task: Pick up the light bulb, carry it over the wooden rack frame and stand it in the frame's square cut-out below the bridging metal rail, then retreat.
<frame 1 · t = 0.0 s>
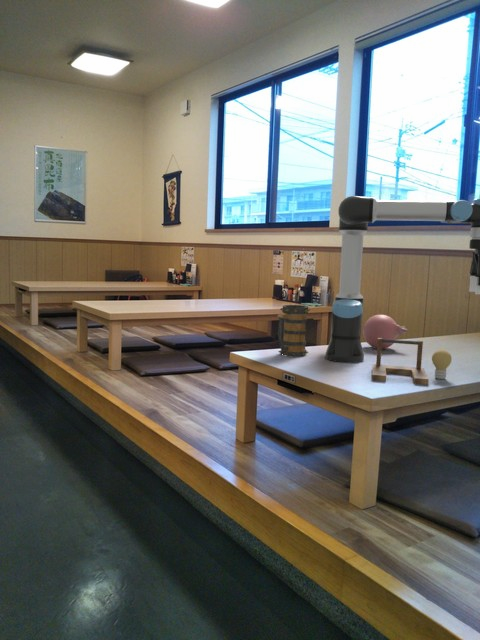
hand: (475, 293, 215), 28 cm above the table, fingers open, 13 cm apart
mug: (290, 355, 222), on the table
light bulb: (440, 379, 188), on the table
wooden rack frame: (398, 376, 188), on the table
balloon: (384, 349, 242), on the table
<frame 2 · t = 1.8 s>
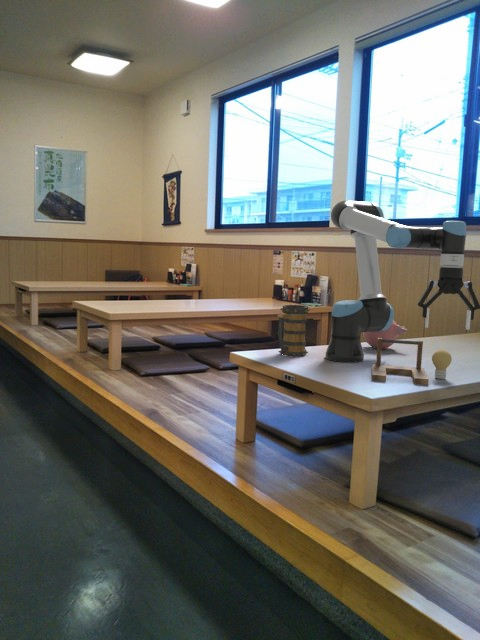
hand: (446, 328, 188), 17 cm above the table, fingers open, 13 cm apart
nothing on the table moved.
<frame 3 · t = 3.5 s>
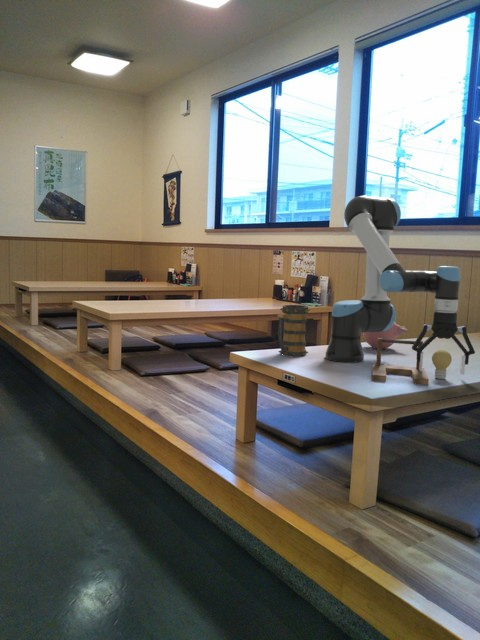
hand: (441, 372, 188), 2 cm above the table, fingers open, 13 cm apart
nothing on the table moved.
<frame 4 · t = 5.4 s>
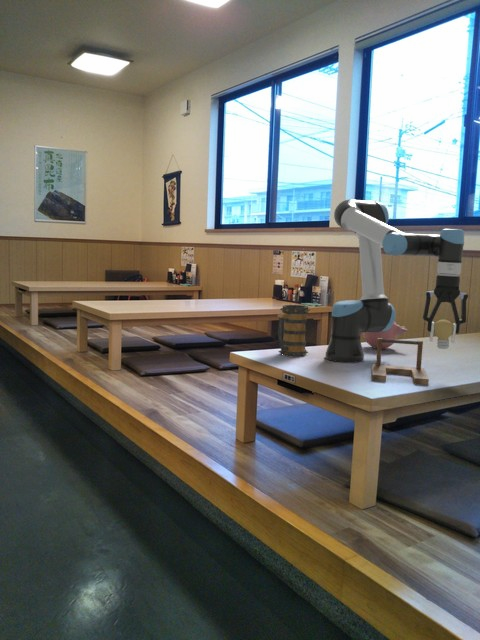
hand: (441, 341, 187), 13 cm above the table, fingers closed on light bulb, 6 cm apart
light bulb: (443, 348, 187), point 10 cm above the table, touching gripper
everything else where it was.
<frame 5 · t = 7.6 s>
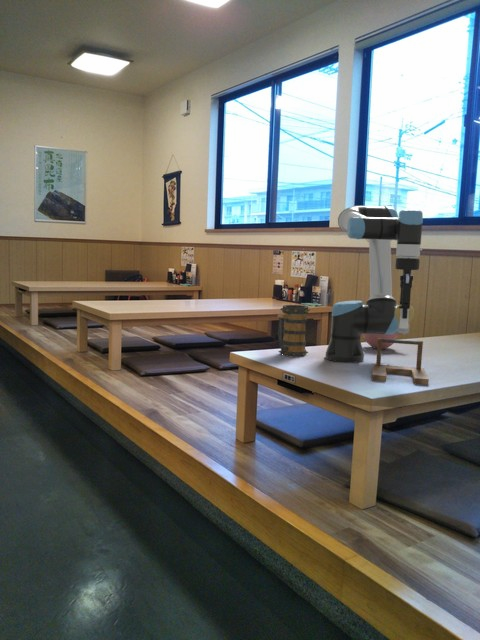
hand: (403, 326, 181), 18 cm above the table, fingers closed on light bulb, 6 cm apart
light bulb: (403, 333, 182), point 16 cm above the table, touching gripper
everything else where it was.
when the fingers open (2 cm above the table, at t = 10.3 s): light bulb stays where it is, on the table.
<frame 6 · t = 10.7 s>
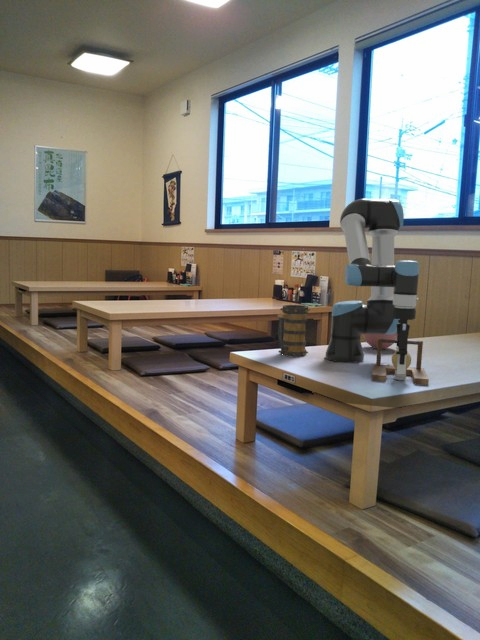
hand: (400, 369, 183), 4 cm above the table, fingers open, 13 cm apart
light bulb: (399, 380, 184), on the table
everything else where it was.
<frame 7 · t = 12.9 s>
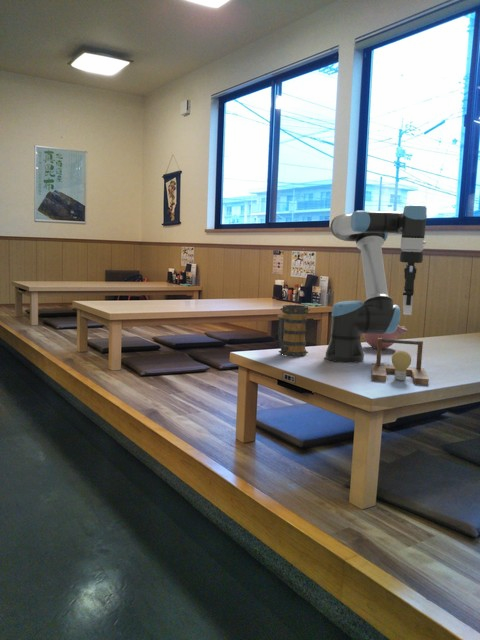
hand: (406, 312, 189), 22 cm above the table, fingers open, 13 cm apart
nothing on the table moved.
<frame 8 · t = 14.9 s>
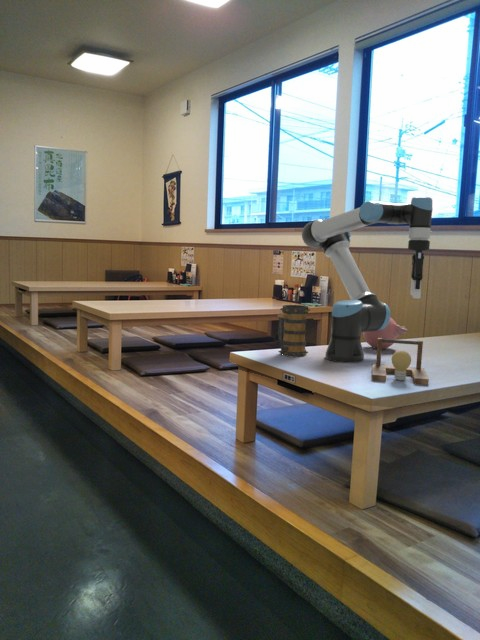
hand: (415, 296, 203), 27 cm above the table, fingers open, 13 cm apart
nothing on the table moved.
at the end: light bulb inside the target area on the wooden rack frame (0.3 cm from its centre), point 0.0 cm above the wooden rack frame's base; the gripper is holding nothing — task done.
